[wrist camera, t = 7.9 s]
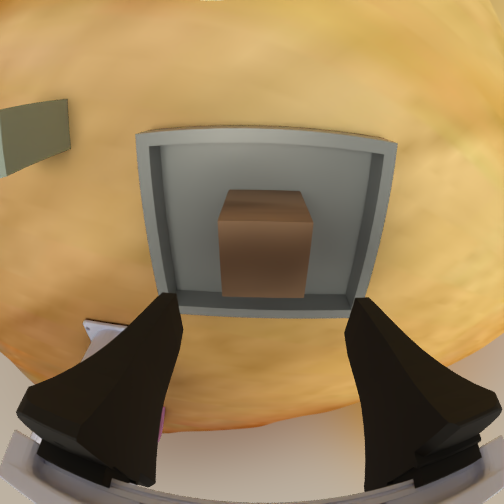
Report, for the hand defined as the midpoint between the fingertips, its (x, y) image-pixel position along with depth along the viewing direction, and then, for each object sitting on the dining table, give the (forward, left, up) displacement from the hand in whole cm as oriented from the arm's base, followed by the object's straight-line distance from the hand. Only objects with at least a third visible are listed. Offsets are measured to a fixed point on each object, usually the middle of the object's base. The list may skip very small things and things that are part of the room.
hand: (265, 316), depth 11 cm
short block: (0, 0, -9) cm, 9 cm away
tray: (0, 0, -9) cm, 9 cm away
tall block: (+8, +16, -9) cm, 21 cm away
